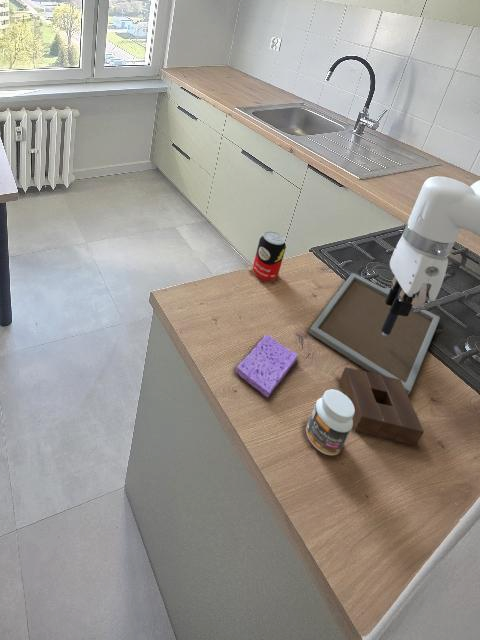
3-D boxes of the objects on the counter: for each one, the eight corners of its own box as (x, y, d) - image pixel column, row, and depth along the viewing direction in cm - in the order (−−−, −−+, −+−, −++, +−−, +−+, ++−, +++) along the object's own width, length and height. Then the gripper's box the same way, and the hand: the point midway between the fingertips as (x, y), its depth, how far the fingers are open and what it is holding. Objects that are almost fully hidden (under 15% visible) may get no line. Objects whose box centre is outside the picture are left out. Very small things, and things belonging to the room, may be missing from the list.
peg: (386, 332, 91) (407, 287, 85) (389, 338, 89) (410, 293, 84) (378, 330, 91) (398, 285, 86) (381, 337, 90) (401, 291, 84)
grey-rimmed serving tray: (309, 328, 93) (355, 267, 112) (308, 333, 94) (354, 272, 113) (410, 391, 80) (443, 311, 99) (407, 397, 81) (440, 316, 100)
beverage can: (249, 264, 114) (258, 228, 109) (273, 267, 113) (283, 231, 108) (254, 280, 108) (264, 244, 103) (279, 284, 107) (290, 247, 102)
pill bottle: (303, 444, 72) (318, 408, 68) (307, 415, 77) (321, 379, 73) (340, 464, 70) (358, 427, 66) (341, 433, 74) (358, 397, 70)
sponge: (234, 372, 84) (236, 366, 83) (265, 338, 92) (267, 332, 91) (267, 399, 79) (269, 392, 79) (296, 360, 87) (298, 354, 87)
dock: (393, 392, 82) (400, 379, 80) (416, 446, 73) (424, 431, 71) (339, 380, 84) (345, 366, 82) (355, 430, 75) (361, 416, 73)
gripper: (473, 270, 72) (434, 345, 79) (430, 218, 86) (400, 286, 93) (424, 262, 74) (390, 336, 81) (389, 212, 88) (363, 279, 95)
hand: (396, 309), depth 87 cm, fingers closed on peg, 1 cm apart
